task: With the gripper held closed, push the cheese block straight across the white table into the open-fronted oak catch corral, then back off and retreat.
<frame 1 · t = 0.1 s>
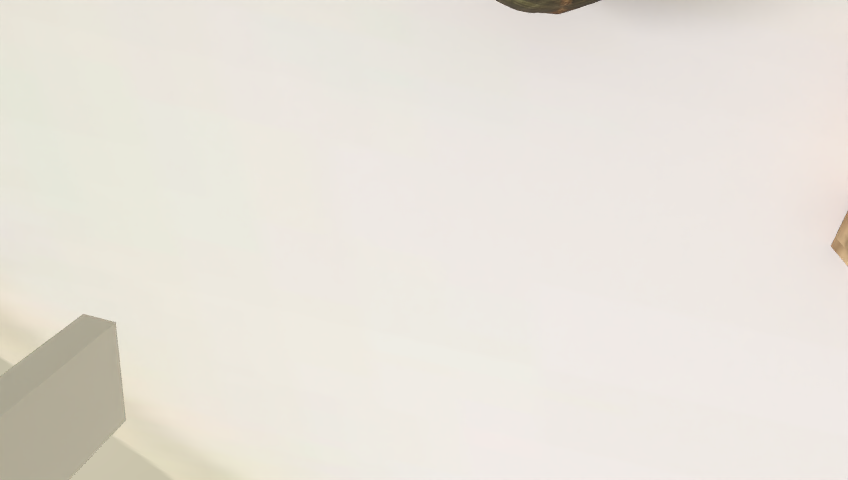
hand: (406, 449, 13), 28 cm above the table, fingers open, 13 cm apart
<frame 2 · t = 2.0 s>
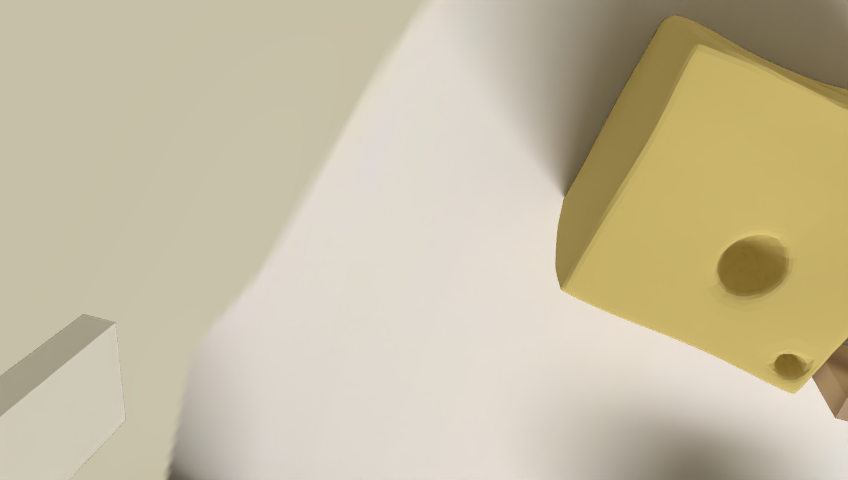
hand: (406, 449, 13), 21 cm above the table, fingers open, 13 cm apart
cheese: (697, 154, 30), on the table
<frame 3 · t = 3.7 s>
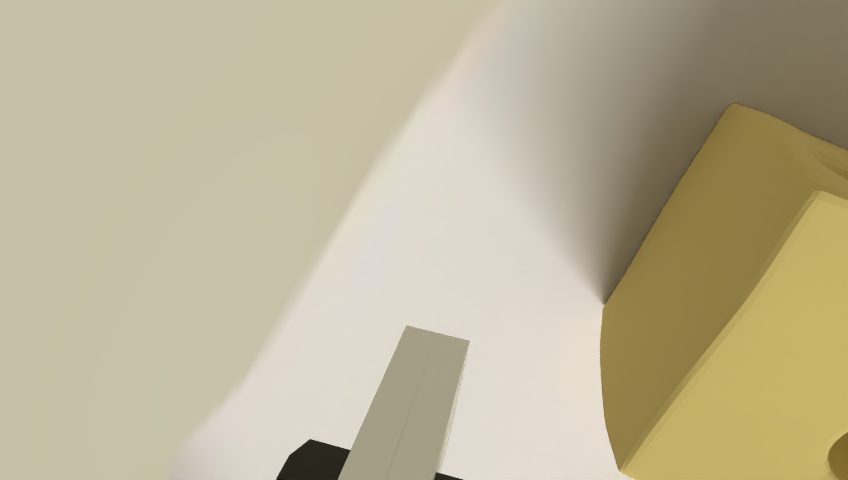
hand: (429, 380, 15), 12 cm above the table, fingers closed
cheese: (766, 258, 25), on the table
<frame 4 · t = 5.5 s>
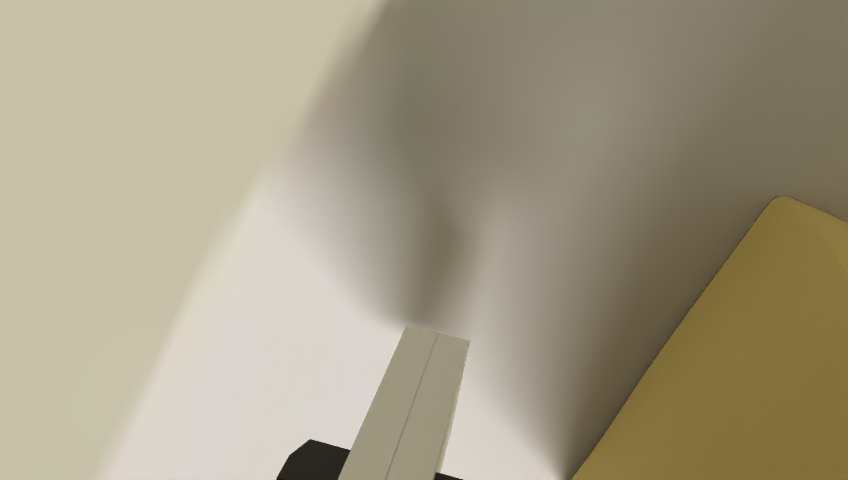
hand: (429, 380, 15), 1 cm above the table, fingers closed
cheese: (826, 436, 15), on the table
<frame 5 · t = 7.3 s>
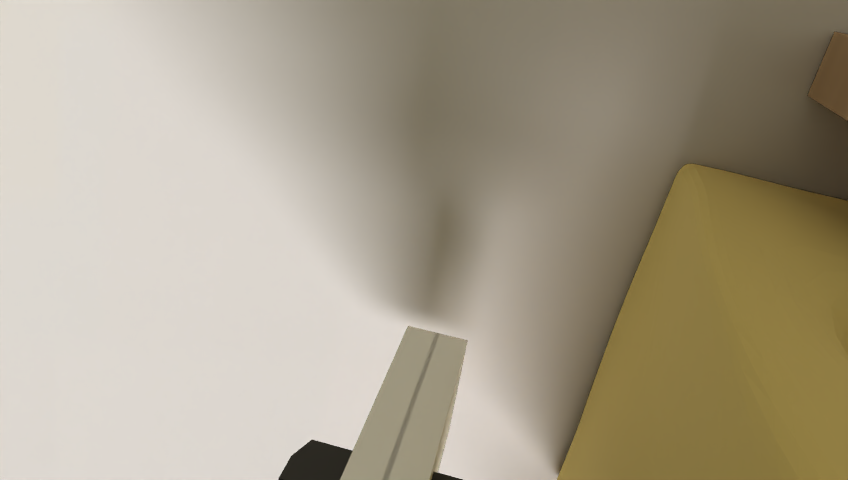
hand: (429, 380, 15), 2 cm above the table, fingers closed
cheese: (799, 394, 15), on the table, touching hand
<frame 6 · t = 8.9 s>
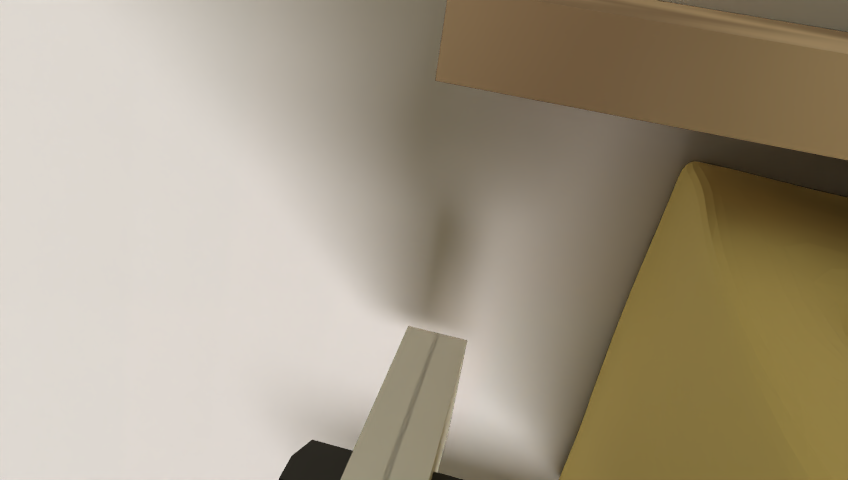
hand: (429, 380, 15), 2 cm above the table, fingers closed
cheese: (803, 394, 15), on the table, touching hand
corral: (767, 435, 15), on the table
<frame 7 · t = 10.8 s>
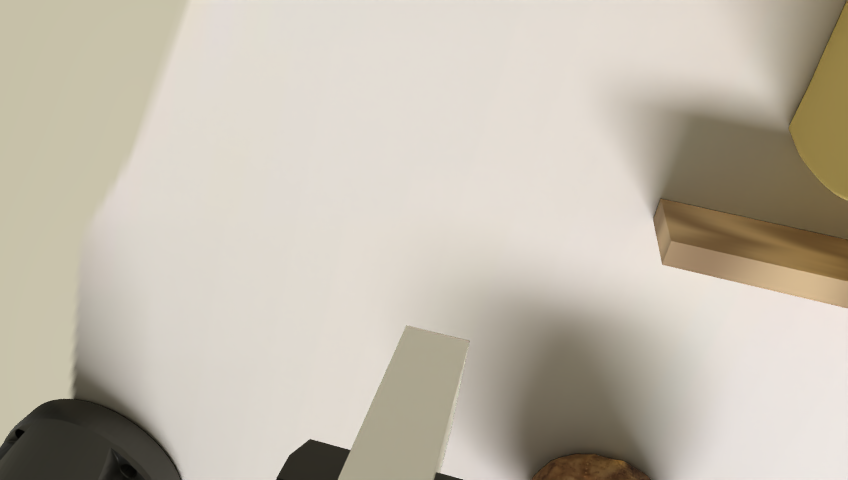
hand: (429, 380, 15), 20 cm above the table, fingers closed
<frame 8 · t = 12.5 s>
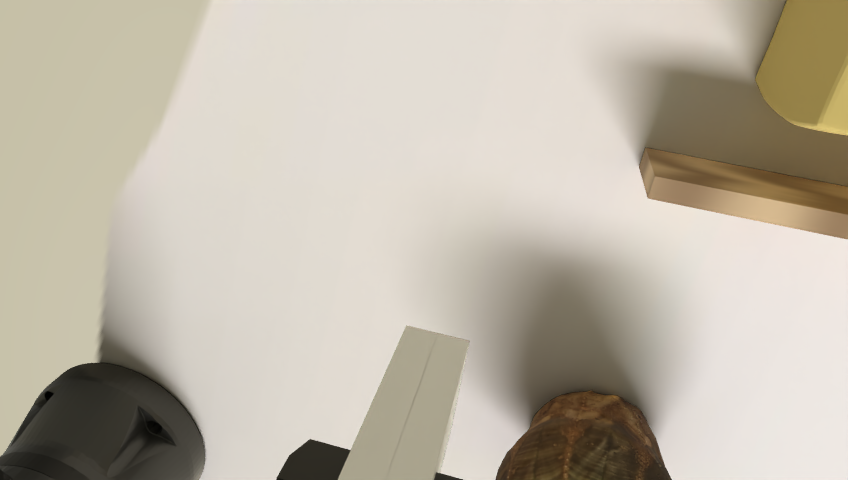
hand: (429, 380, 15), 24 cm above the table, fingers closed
shell: (581, 428, 45), on the table
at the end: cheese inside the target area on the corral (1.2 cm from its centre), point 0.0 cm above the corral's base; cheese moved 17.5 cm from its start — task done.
